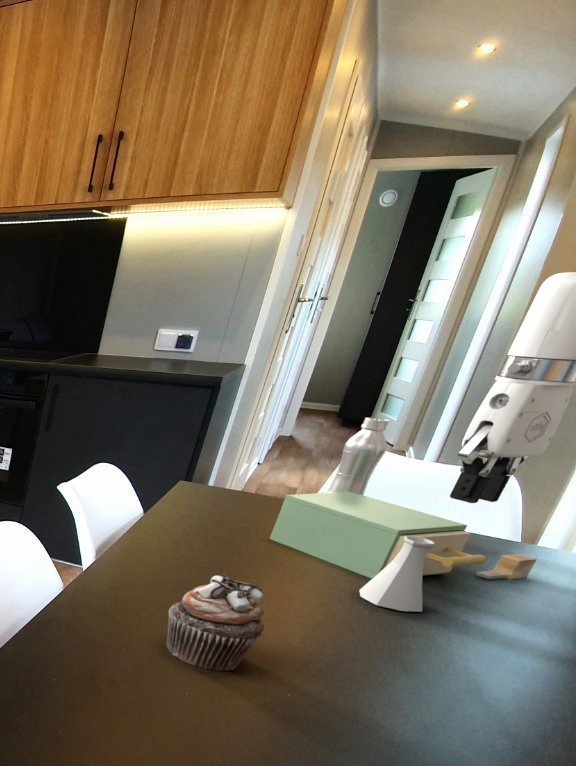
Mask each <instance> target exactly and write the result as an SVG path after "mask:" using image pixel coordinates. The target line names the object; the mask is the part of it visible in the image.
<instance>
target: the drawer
mask: <svg viewBox="0 0 576 766" xmlns="http://www.w3.org/2000/svg"><path fill="white" fill-rule="evenodd" d="M405 536H414V537H420V538H426V539H428V540H431V541H433V542H434V543H435V545H434V547H432V548H430V549H429V551H428V553H427V555H426V557H425V561H424V566H423V574H422V575H424V576H426V575H425V574H434V575H436V574H435V573H442V574H445V573H451V572H452V570H453V568H454V567H463V566H474V565H475V566H476V565H483V564H485V563H486V562H487V557H486V556H485V555H483V554H475V555H473V554H470V553H466V552H463V549H464V547H465V546H466V543H467V542H468V540H469V538H470V536H471V532H468V531H466V530H465V531H453V532H448V531H440V532H427V533H414V534H401V535H400V536H399V538H398V540H397V542H396V544H395V547H394V549H393V551H392V553H391V555H390V557H389V559H388V561H387V563H386V565H385V567H386V566H387V565H388V564H389V563H391V562H392V561H393V560H394V558H395V557H396V556H397V555H398V553H399V552H400V551H401V549H402V547H403V545H404V543H405V541H404V537H405ZM385 567H384V568H385Z"/></svg>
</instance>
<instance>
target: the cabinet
mask: <svg viewBox="0 0 576 766" xmlns="http://www.w3.org/2000/svg"><path fill="white" fill-rule="evenodd" d="M467 527H468V524H465V523H461V522H458V521H455V520H451V519H447V518H443V517H440V516H437V515H433V514H430V513H425V512H422V511H419V510H416V509H413V508H409V507H404V506H401V505H398V504H394V503H391V502H387V501H384V500H380V499H377V498H374V497H370V496H365V495H364V496H363V495H359V494H356V493H352V492H331V493H326V492H315V493H313V492H312V493H298V494H296V493H295V494H286V496H285V499H284V500H283V503H282V506H281V509H280V511H279V513H278V516H277V518H276V521H275V524H274V526H273V529H272V532H271V533H270V537H269V540H271V541H273V542H276V543H277V544H281V545H284V546H286V547H289V548H291V549H294V550H297V551H299V552H302V553H305V554H307V555H310V556H312V557H315V558H317V559H320V560H321V561H325V562H327V563H330V564H332V565H335V566H337V567H340V568H343V569H346V570H347V571H350V572H353V573H356V574H358V575H360V576H363V577H366V578H368V579H370V580H372V579H373V578H374V577H375V576H376V575H378V574H379V573H380V572H381V571H382V570H383V569H384V567H385V565H386V563H387V561H388V559H389V557H390V555H391V553H392V551H393V549H394V547H395V544H396V542H397V540H398V538H399V536H400V535H401V534H414V533H427V532H440V531H448V532H453V531H465V532H466V529H467ZM442 574H443V573H435V574H425V575H422V577H423V576H433V575H442Z"/></svg>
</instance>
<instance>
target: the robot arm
mask: <svg viewBox="0 0 576 766" xmlns="http://www.w3.org/2000/svg"><path fill="white" fill-rule="evenodd" d="M494 380H495V382H494V384H493V385H492V387H491V388H490V390H489V391H488V393H487V394H486V396H485V397H484V399H483V401H482V402H481V404H480V406H479V407H478V409H477V411H476V413H475V415H474V416H473V418H472V420H471V422H470V424H469V426H468V427H467V429H466V431H465V434H464V436H463V438H462V443H461V447H462V448H461V450H459V452H458V453H457V457H458V458H459V459H460V460H461V463H462V465H461V466H460V470H459V471H460V474H459V476H458V478H457V481H456V482H455V484H454V486H453V488H452V490H451V492H450V494H449V497H450V499H453V500H457V501H462V502H464V503H468V504H477V503H478V502H479V500H482V501H486V502H490V503H496V502H498V501H499V499H500V497H501V495H502V493H503V492H504V489H505V488H506V486H507V484H508V482H509V480H510V479H511V477H512V476H513V475H515V473H516V472H517V469H518V467H519V466H520V465H521V464H522V463H523V462H524V461H525V460H526V459H529V458H531V457H535V456H539V455H541V454H543V453H544V452H546V450H547V449H548V448H549V445H550V444H551V442H552V440H553V438H554V436H555V434H556V432H557V430H558V428H559V425H560V423H561V421H562V419H563V416H564V414H565V412H566V410H567V407H568V404H569V402H570V399H571V397H572V393H573V390H574V387H575V385H576V271H570V272H567V271H566V272H560V273H555V274H553V275H551V276H549V277H547V278H546V279H545V280H544V282H543V283H542V284H541V285H540V287H539V289H538V291H537V293H536V295H535V297H534V299H533V301H532V303H531V304H530V307H529V309H528V311H527V313H526V315H525V317H524V319H523V321H522V323H521V326H520V328H519V330H518V332H517V333H516V336H515V338H514V340H513V342H512V344H511V346H510V348H509V349H508V352H507V354H506V355H505V358H504V360H503V362H502V364H501V366H500V368H499V370H498V372H497V374H496V376H495V378H494ZM482 451H488V452H490V453H488V452H482ZM483 458H485V459H486V460H485V461H484V459H483Z"/></svg>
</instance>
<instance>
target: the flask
mask: <svg viewBox="0 0 576 766" xmlns="http://www.w3.org/2000/svg"><path fill="white" fill-rule="evenodd" d="M404 541H405V543H404V545H403V547H402V549H401V551H400V552H399V553H398V555H397V556H396V557H395V558H394V560H393V561H392V562H391V563H389V564H388V565H387V566H386V567H385V568H384V569H383V570H382V571H381V572H380V573H379V574H378V575H376V576H375V577H374V578H373V579H370V580H369V581H368V582H367V583H365V585H363V586H362V587H361V588H360V589H359V597H360V598H362V599H363V600H366V601H368V602H370V603H372V604H373V605H376V606H379V607H382V608H388V609H392V610H396V611H400V612H421V613H422V612H423V576H422V574H423V566H424V561H425V557H426V555H427V553H428V551H429V549H430V548H432V547H434V545H435V543H434V542H433V541H431V540H428V539H426V538H420V537H414V536H405V537H404Z"/></svg>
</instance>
